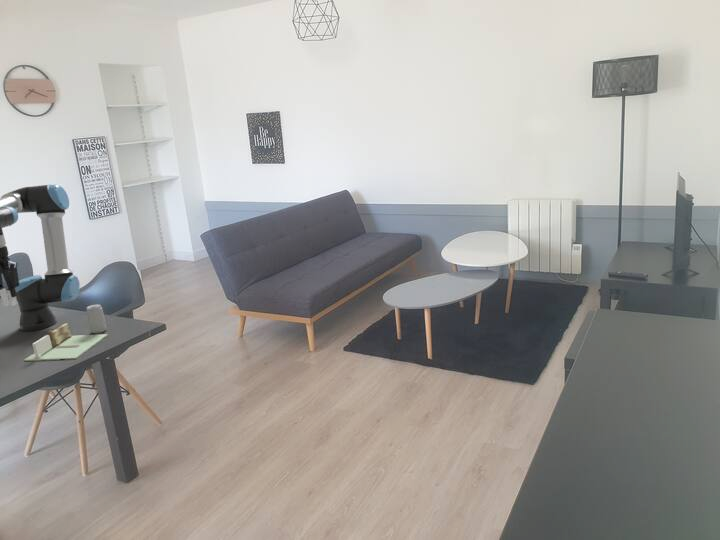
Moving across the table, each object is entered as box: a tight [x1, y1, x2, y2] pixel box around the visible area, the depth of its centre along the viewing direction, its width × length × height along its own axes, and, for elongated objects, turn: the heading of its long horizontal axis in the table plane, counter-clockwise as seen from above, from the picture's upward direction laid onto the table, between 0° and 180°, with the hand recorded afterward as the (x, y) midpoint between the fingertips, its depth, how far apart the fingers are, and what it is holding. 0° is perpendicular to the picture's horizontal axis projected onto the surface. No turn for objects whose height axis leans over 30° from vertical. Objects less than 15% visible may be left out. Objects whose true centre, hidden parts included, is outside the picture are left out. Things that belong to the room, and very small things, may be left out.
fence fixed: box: [47, 322, 73, 348], centre depth 235 cm, size 12×2×8 cm, turn 175°
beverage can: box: [85, 303, 107, 335], centre depth 245 cm, size 6×6×12 cm
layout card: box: [23, 333, 109, 362], centre depth 231 cm, size 24×22×1 cm
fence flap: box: [32, 334, 52, 358], centre depth 225 cm, size 9×2×6 cm, turn 175°
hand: (10, 305), depth 218 cm, fingers open, 3 cm apart
